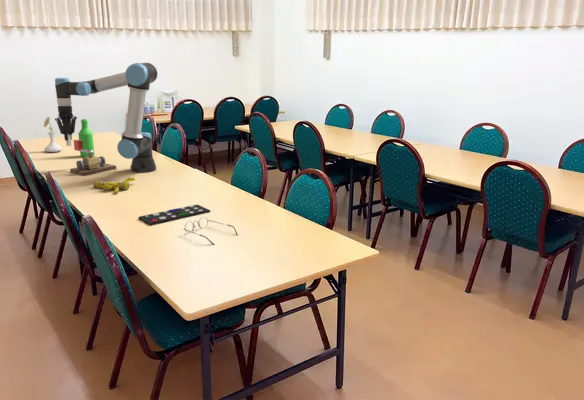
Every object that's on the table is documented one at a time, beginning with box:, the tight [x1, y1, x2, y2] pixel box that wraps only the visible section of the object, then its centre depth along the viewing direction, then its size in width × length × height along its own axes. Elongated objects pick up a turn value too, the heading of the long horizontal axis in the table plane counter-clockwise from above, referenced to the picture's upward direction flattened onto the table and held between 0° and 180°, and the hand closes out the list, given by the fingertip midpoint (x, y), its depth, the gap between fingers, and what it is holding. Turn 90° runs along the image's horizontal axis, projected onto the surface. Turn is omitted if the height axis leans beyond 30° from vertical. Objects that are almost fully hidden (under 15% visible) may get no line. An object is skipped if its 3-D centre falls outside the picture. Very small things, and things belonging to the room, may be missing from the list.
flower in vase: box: [43, 116, 63, 153], centre depth 347 cm, size 13×11×25 cm
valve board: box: [69, 154, 117, 177], centre depth 302 cm, size 14×22×11 cm, turn 147°
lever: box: [73, 139, 93, 154], centre depth 300 cm, size 15×4×6 cm, turn 57°
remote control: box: [137, 204, 211, 227], centre depth 228 cm, size 11×30×2 cm, turn 132°
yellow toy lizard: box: [92, 176, 136, 194], centre depth 268 cm, size 22×6×20 cm
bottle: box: [78, 118, 95, 158], centre depth 336 cm, size 9×9×25 cm
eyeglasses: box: [183, 216, 239, 245], centre depth 206 cm, size 16×19×5 cm
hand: (68, 145), depth 297 cm, fingers closed
